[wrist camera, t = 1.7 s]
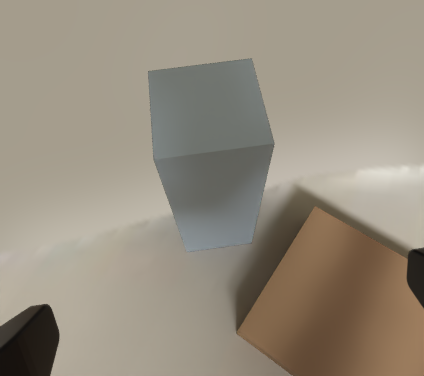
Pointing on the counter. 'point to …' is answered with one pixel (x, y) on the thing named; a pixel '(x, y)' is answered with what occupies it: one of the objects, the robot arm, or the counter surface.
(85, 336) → the counter surface
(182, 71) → the slate pillar
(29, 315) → the robot arm
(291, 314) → the walnut base block
